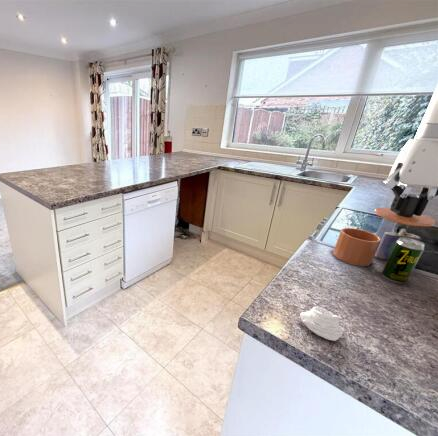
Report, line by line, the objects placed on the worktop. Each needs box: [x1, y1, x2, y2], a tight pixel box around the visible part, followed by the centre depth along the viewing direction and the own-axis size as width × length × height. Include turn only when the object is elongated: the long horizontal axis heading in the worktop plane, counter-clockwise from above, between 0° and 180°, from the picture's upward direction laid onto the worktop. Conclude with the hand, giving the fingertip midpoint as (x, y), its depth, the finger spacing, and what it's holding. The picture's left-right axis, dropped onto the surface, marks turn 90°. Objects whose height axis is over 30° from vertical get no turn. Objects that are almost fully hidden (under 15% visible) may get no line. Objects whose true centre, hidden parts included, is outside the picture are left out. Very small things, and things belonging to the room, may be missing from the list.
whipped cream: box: [299, 306, 346, 342], centre depth 53 cm, size 8×7×5 cm
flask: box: [374, 228, 422, 261], centre depth 78 cm, size 9×3×11 cm, turn 74°
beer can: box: [381, 237, 426, 285], centre depth 68 cm, size 5×5×12 cm
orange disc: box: [374, 193, 436, 227], centre depth 59 cm, size 11×11×6 cm
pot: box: [333, 227, 382, 267], centre depth 79 cm, size 10×10×8 cm
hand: (405, 212), depth 59 cm, fingers closed on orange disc, 3 cm apart
